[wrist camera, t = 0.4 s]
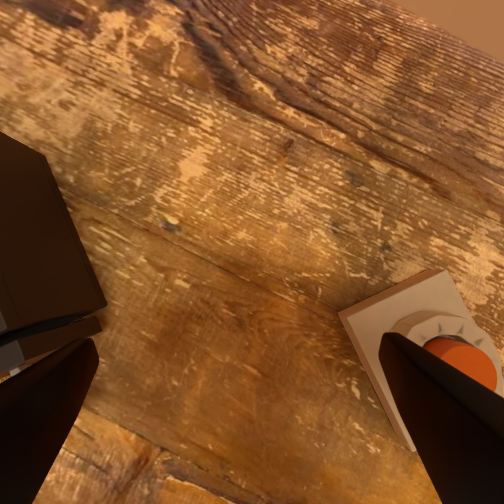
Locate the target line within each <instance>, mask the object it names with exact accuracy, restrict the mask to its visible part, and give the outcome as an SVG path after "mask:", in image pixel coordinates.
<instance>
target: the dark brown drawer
mask: <svg viewBox="0 0 504 504" xmlns="http://www.w3.org/2000/svg"><path fill="white" fill-rule="evenodd" d="M33 326H35V325H33ZM33 326H29V327H25V328H20V329H16V330H12V331H8V332H6V333H4V334H2V335H0V342H1V341H3V340H5V339H7V338H9V337H11V336H13V335H16V334H18V333H20V332H22V331H24V330H26V329H28V328H31V327H33ZM101 331H102V328H101V326H100V323H99V321H98V319H97V317H92V318H89V319H85V320H82V321H78V322H75V323H71V324H68V325H64V326H61V327H57V328H54V329H50V330H47V331H43V332H40V333H36V334H33V335H29V336H26V337H22V338H19V339H16V340H14V341H12V342H9V343H7V344H5V345H3V346H1V347H0V379H1V378H3V377H5V376H7V375H9V374H10V375H11V377H12V376H14V375H15V374H17V373H19V372H20V371H22V370H24V369H26V368H27V366H29V365H31V364H33V363H35V362H37V361H39V360H41V359H43V358H44V357H46V356H48V355H49V354H51V353H53V352H54V351H56V350H58V349H60V348H61V347H63V346H65V345H66V344H68V343H70V342H71V341H73V340H75V339H77V338H88V337H90V336H92V335H95V334H97V333H99V332H101Z"/></svg>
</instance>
